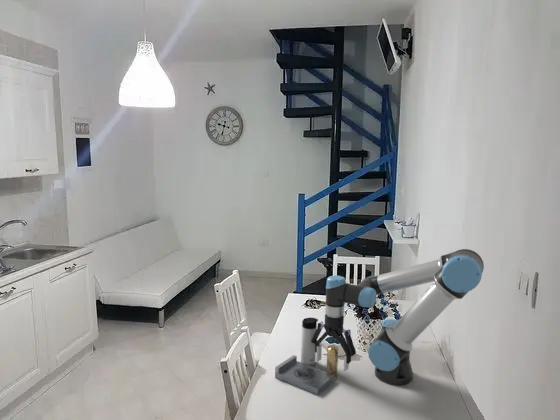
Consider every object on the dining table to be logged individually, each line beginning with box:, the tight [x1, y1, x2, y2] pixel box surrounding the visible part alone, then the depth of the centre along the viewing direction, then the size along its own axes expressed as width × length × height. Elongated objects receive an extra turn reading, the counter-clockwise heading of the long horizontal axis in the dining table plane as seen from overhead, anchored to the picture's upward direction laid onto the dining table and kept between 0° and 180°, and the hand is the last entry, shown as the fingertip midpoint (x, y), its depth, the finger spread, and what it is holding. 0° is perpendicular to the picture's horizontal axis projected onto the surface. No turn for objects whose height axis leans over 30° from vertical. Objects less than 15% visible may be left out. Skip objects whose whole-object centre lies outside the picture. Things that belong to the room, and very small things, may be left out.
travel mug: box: [300, 317, 319, 367], centre depth 184 cm, size 6×7×20 cm
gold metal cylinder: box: [325, 344, 339, 379], centre depth 174 cm, size 4×4×12 cm
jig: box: [274, 354, 336, 396], centre depth 171 cm, size 20×13×4 cm, turn 54°
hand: (332, 365), depth 175 cm, fingers open, 12 cm apart
